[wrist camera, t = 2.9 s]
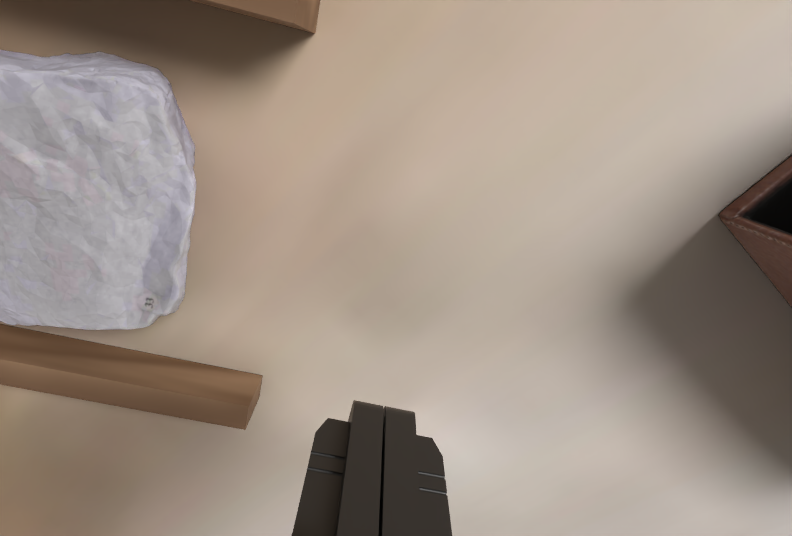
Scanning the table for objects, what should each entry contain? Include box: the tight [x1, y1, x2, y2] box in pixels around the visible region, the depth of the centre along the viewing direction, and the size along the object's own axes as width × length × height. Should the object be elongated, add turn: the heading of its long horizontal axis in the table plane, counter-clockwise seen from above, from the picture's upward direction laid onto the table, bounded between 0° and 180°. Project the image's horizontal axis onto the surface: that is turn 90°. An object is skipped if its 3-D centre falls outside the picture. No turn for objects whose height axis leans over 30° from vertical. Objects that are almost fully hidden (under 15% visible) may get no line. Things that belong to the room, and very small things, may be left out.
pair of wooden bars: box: [0, 0, 320, 430], centre depth 19 cm, size 20×17×4 cm
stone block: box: [0, 50, 196, 330], centre depth 20 cm, size 12×5×10 cm
